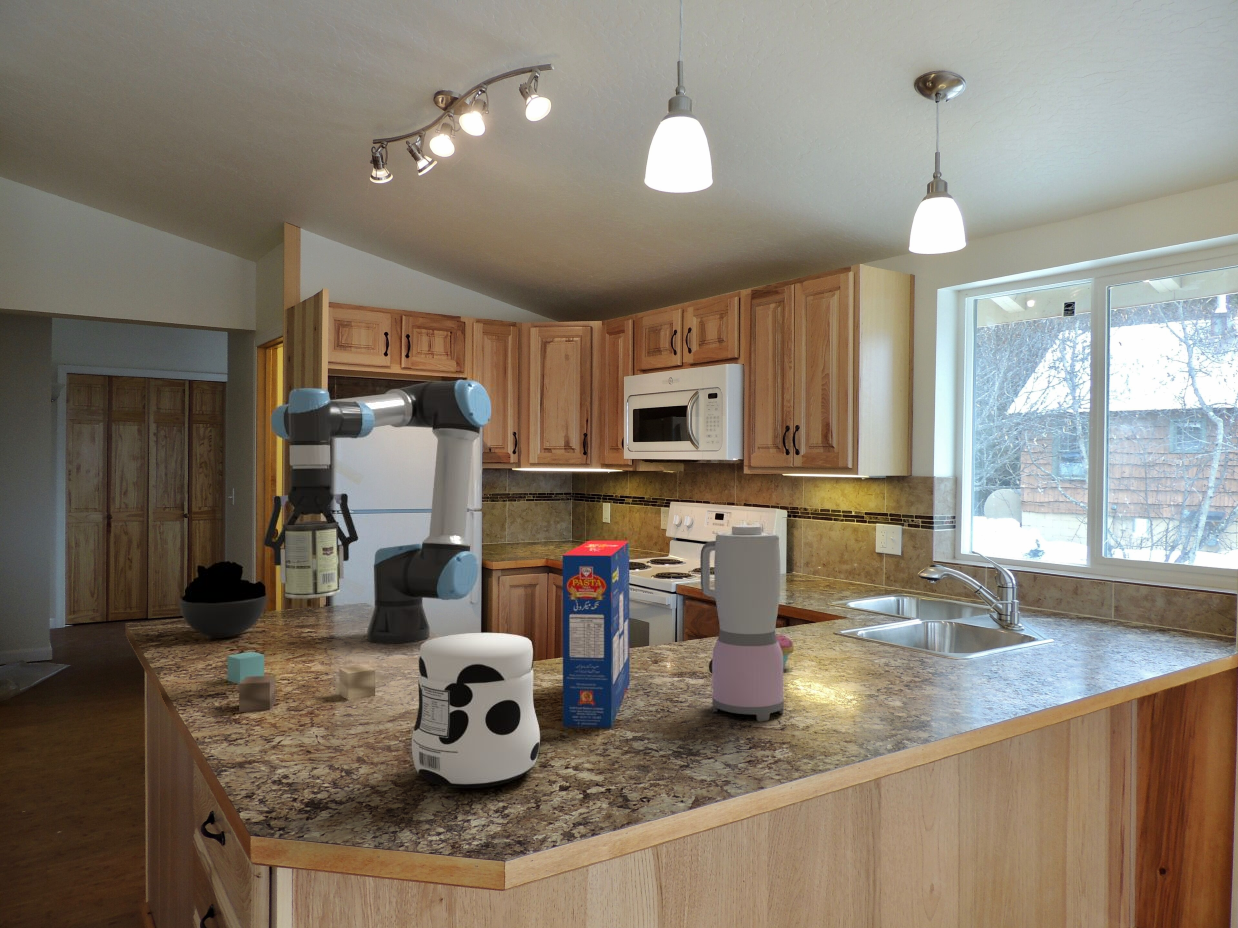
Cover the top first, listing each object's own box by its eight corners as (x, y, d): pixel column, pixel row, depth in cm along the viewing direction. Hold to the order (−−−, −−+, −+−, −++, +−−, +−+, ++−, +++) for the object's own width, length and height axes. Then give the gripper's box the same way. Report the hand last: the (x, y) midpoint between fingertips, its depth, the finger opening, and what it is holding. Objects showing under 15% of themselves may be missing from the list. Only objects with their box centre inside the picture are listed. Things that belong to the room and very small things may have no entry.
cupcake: (748, 670, 172) (748, 612, 172) (757, 661, 180) (757, 606, 180) (790, 674, 169) (789, 615, 169) (797, 664, 177) (797, 608, 177)
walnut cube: (275, 702, 149) (275, 675, 149) (269, 710, 144) (269, 682, 144) (245, 704, 148) (245, 676, 148) (239, 712, 143) (239, 683, 143)
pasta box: (589, 682, 163) (588, 540, 163) (629, 683, 162) (629, 540, 162) (562, 726, 135) (562, 555, 135) (611, 727, 134) (611, 555, 134)
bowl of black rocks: (255, 626, 222) (255, 556, 222) (277, 638, 206) (277, 562, 206) (171, 635, 209) (171, 561, 209) (188, 649, 193) (188, 569, 194)
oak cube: (365, 690, 157) (365, 664, 157) (375, 696, 153) (375, 669, 153) (339, 695, 154) (339, 668, 154) (348, 700, 150) (348, 673, 150)
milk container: (543, 752, 122) (543, 630, 122) (535, 798, 105) (535, 656, 105) (425, 753, 122) (425, 631, 122) (398, 800, 104) (398, 658, 105)
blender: (797, 709, 144) (796, 525, 144) (762, 726, 134) (761, 529, 134) (720, 694, 154) (719, 522, 154) (682, 708, 144) (681, 525, 144)
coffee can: (299, 589, 168) (298, 520, 168) (348, 589, 167) (347, 520, 167) (273, 598, 158) (272, 525, 158) (325, 598, 157) (324, 525, 157)
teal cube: (251, 675, 169) (251, 651, 169) (264, 679, 166) (264, 654, 166) (227, 680, 165) (227, 655, 165) (239, 684, 162) (239, 659, 162)
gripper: (366, 466, 171) (367, 573, 171) (246, 468, 161) (248, 581, 161) (372, 466, 164) (374, 577, 165) (248, 468, 154) (250, 587, 154)
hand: (312, 579), depth 163 cm, fingers closed on coffee can, 10 cm apart
